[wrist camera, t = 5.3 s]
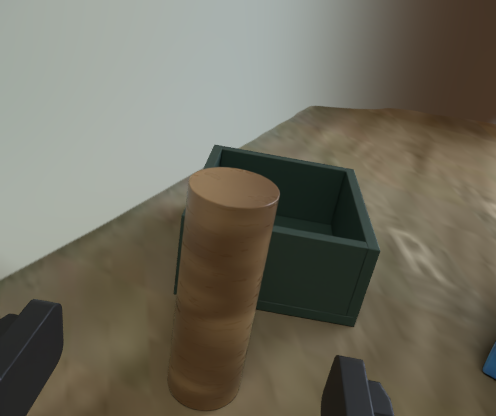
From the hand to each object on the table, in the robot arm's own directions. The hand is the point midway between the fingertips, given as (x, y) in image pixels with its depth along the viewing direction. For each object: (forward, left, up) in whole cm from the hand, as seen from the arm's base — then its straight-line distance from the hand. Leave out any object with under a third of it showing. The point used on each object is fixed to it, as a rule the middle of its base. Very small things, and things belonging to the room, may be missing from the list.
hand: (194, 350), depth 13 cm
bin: (+3, +22, -10) cm, 24 cm away
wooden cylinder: (0, +8, -10) cm, 13 cm away
